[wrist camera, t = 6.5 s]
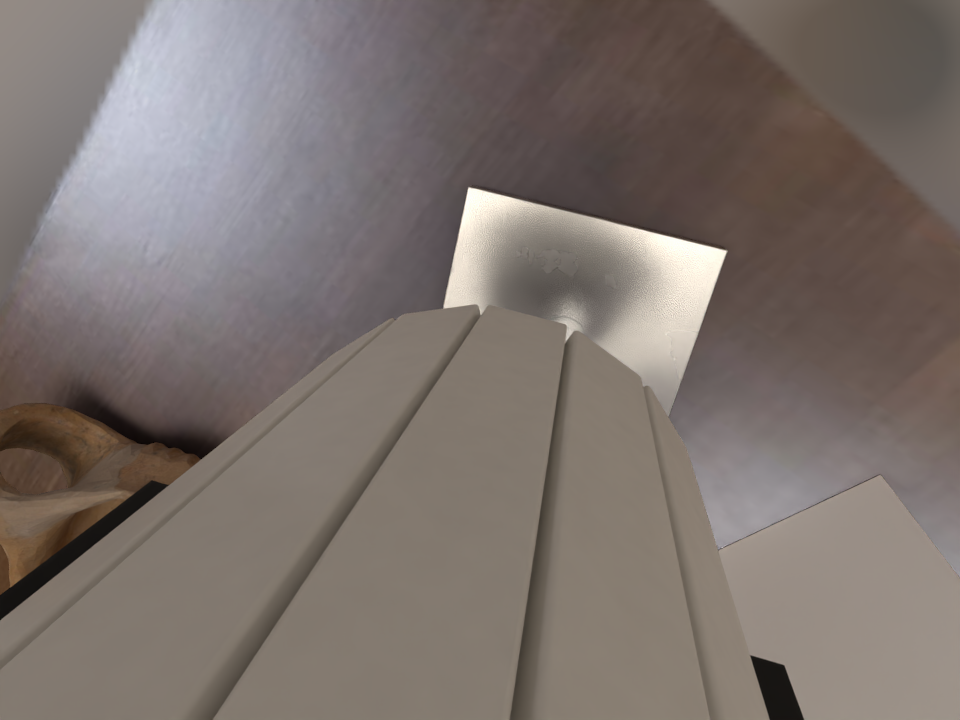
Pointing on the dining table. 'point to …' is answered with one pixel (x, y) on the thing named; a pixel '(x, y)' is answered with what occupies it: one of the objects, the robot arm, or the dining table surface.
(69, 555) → the robot arm
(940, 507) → the dining table surface
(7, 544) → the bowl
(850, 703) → the milk
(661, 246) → the towel stand
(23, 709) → the paper towel roll
